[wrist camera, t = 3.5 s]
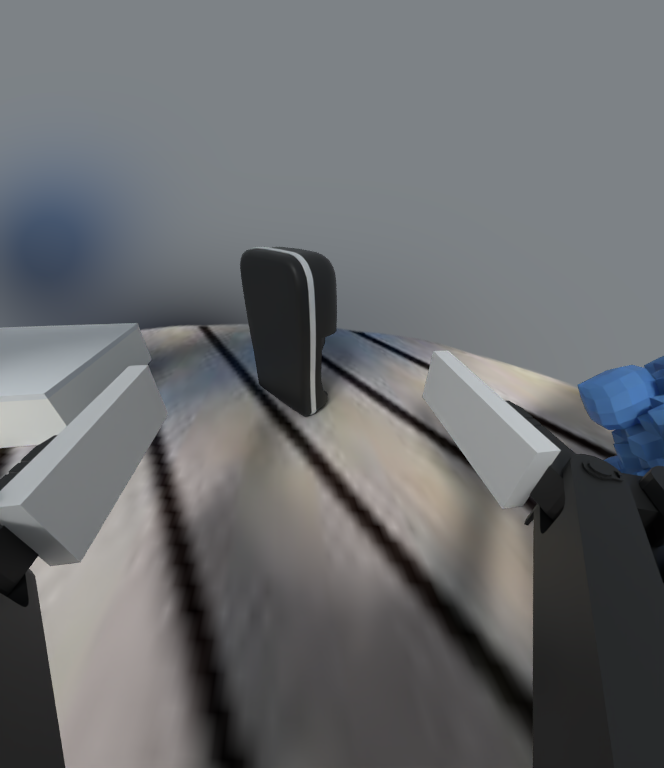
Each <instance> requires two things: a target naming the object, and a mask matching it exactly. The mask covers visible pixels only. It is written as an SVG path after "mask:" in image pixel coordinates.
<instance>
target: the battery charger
mask: <svg viewBox="0 0 664 768" xmlns="http://www.w3.org/2000/svg"><path fill="white" fill-rule="evenodd" d="M240 269H241V279H242V285H243V292H244V299H245V305H246V311H247V317H248V322H249V328H250V333H251V339H252V344H253V349H254V354H255V360H256V367H257V373H258V380H259V384H260V385H261V386H262V387H263V388H264V389H266V390H267V391H268V392H270V393H271V394H272V395H274V396H275V397H276V398H278V399H279V400H281V401H282V402H283V403H285V404H286V405H288V406H289V407H291V408H292V409H293V410H295V411H297V412H298V413H299V414H301V415H303V416H308V415H312V414H313V413H315V412H316V410H318V409H320V408H321V407H322V406H323V405H325V404H326V402H327V399H328V394H327V393H326V392H325V391H324V390H323V387H322V383H321V357H322V349H323V346H324V344H325V337H327V336H329V335H332V334H334V333H335V332H336V321H337V295H336V278H335V272H334V269H333V266H332V264H331V263H330V261H329V260H328V259H327V258H326V257H325V256H323V255H321V254H319V253H317V252H312V251H307V250H302V249H295V248H285V247H272V248H268V247H254V248H252V249H250V250H247V251H246V252H244V253H243V254H242V257H241V263H240Z"/></svg>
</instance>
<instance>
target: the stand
mask: <svg viewBox="0 0 664 768" xmlns="http://www.w3.org/2000/svg"><path fill="white" fill-rule="evenodd" d="M151 360H152V359H151V356H150V354H149V351H148V349H147V346H146V344H145V341H144V339H143V336H142V334H141V331H140V328H139V326H138V324H137V323H128V324H99V325H98V324H97V325H67V326H39V327H38V326H36V327H6V328H0V448H6V447H19V446H31V445H39V444H41V443H43V442H44V441H46V440H47V439H49V438H51V437H52V436H54V435H58V434H59V433H60V432H61V431H62V430H64V429H65V428H66V427H67V426H68V425H69V424H70V423H71V422H72V421H73V420H74V419H75V418H76V417H77V416H78V415H79V414H80V413H81V412H82V411H83V410H84V409H85V408H86V407H87V406H88V405H89V404H90V403H91V402H92V401H93V400H94V399H95V398H96V397H97V396H99V395H100V394H101V393H102V392H103V391H104V390H105V389H106V388H107V387H108V386H109V385H110V384H111V383H112V382H113V381H114V380H115V379H116V378H117V377H118V376H119V375H120V374H121V373H122V372H123V371H124V370H125V369H126V368H127V367H128V366H137V365H148V363H149V362H150V361H151Z"/></svg>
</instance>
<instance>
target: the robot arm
mask: <svg viewBox="0 0 664 768" xmlns="http://www.w3.org/2000/svg"><path fill="white" fill-rule="evenodd" d="M422 397H423V398H424V400H425V401H426V402H427V404H428V405H429V407H430V408H431V409H432V411H433V412H434V414H435V415H436V416H437V418H438V419H439V421H440V422H441V423H442V425H443V426H444V428H445V429H446V430H447V432H448V433H449V435H450V436H451V437H452V439H453V440H454V442H455V443H456V444H457V446H458V447H459V449H460V450H461V451H462V453H463V454H464V456H465V457H466V458H467V460H468V461H469V463H470V464H471V465H472V467H473V468H474V470H475V471H476V473H477V474H478V475H479V477H480V478H481V480H482V481H483V482H484V484H485V485H486V487H487V488H488V489H489V491H490V492H491V494H492V495H493V496H494V498H495V499H496V501H497V502H498V503H499V505H500V506H501V508H502V509H506V508H513V507H521V506H523V505H524V504H525V502H526V501H527V499H528V498H529V496H530V495H531V496H532V498H533V499H534V500H535V501H536V502H537V505H536V506H535V508H534V509H533V510H532V512H531V513H530V514H529V516H528V517H527V519H526V521H525V523H524V524H526V525H529V524H530V522H531V521H532V520H534V549H533V768H664V466H655V467H652V468H651V469H650V470H649V471H648V472H647V473H646V474H645V475H644V476H638V475H631V474H625V473H621V472H620V471H619V470H618V469H617V468H615V467H614V466H612V465H611V464H609V463H607V462H606V461H604V460H601V459H599V458H596V457H594V456H590V455H585V454H575V453H574V452H573V451H572V450H571V449H570V448H568V447H567V446H566V445H565V444H564V443H563V442H561V441H560V440H559V439H558V438H557V437H555V436H554V435H553V434H552V433H551V432H550V431H548V430H547V429H546V428H545V427H544V426H541V424H540V423H539V422H538V421H537V420H536V419H533V418H532V416H531V415H530V414H528V413H527V412H526V411H525V410H524V409H523V408H521V407H519V406H517V405H515V404H514V403H512V402H510V401H505V400H503V399H502V398H501V397H500V396H499V395H498V394H497V393H496V392H494V391H493V390H492V389H491V388H490V387H489V386H488V385H487V384H485V383H484V382H483V381H482V380H481V379H480V378H479V377H478V376H476V375H475V374H474V373H473V372H472V371H471V370H470V369H468V368H467V367H466V366H465V365H464V364H463V363H462V362H461V361H459V360H458V359H457V358H456V357H455V356H454V355H453V354H452V353H450V352H449V351H448V350H447V351H433V355H432V359H431V363H430V368H429V372H428V376H427V380H426V384H425V388H424V392H423V396H422ZM167 416H168V412H167V410H166V407H165V405H164V402H163V400H162V398H161V395H160V393H159V390H158V388H157V385H156V383H155V381H154V378H153V376H152V373H151V371H150V368H149V366H148V365H137V366H128V367H127V368H126V369H125V370H124V371H123V372H122V373H121V374H120V375H119V376H118V377H117V378H116V379H115V380H114V381H113V382H112V383H111V384H110V385H109V386H108V387H107V388H106V389H105V390H104V391H103V392H102V393H101V394H100V395H99V396H97V397H96V398H95V399H94V400H93V401H92V402H91V403H90V404H89V405H88V406H87V407H86V408H85V409H84V410H83V411H82V412H81V413H80V414H79V415H78V416H77V417H76V418H75V419H74V420H73V421H72V422H71V423H70V424H69V425H68V426H67V427H66V428H65V429H64V430H62V431H61V432H60V433H59V434H58V435H54V436H52V437H51V438H49V439H47V440H46V441H44V442H43V443H41V444H39V445H38V446H36V447H35V448H34V449H33V450H32V451H30V452H29V453H28V454H27V455H26V456H25V457H24V458H23V459H22V460H21V463H18V464H17V465H15V466H14V467H13V468H12V469H11V470H10V471H9V474H8V475H5V476H4V477H3V478H2V479H0V768H65V763H64V757H63V750H62V744H61V738H60V731H59V725H58V719H57V712H56V706H55V700H54V693H53V687H52V680H51V674H50V668H49V661H48V655H47V649H46V642H45V636H44V630H43V623H42V617H41V611H40V604H39V598H38V592H37V585H36V579H35V575H34V574H33V572H32V571H31V570H30V569H29V568H30V566H31V565H32V563H33V562H34V561H35V559H36V558H37V557H38V556H39V557H40V558H41V559H43V560H44V561H45V562H46V563H47V564H49V565H50V566H55V565H63V564H71V563H79V562H81V561H82V559H83V557H84V556H85V554H86V552H87V550H88V549H89V547H90V545H91V544H92V542H93V540H94V539H95V537H96V535H97V534H98V532H99V530H100V529H101V527H102V525H103V523H104V522H105V520H106V518H107V517H108V515H109V513H110V512H111V510H112V508H113V507H114V505H115V503H116V502H117V500H118V498H119V496H120V495H121V493H122V491H123V490H124V488H125V486H126V485H127V483H128V481H129V480H130V478H131V476H132V475H133V473H134V471H135V470H136V468H137V466H138V464H139V463H140V461H141V459H142V458H143V456H144V454H145V453H146V451H147V449H148V448H149V446H150V444H151V443H152V441H153V439H154V437H155V436H156V434H157V432H158V431H159V429H160V427H161V426H162V424H163V422H164V421H165V419H166V417H167Z"/></svg>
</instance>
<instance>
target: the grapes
mask: <svg viewBox="0 0 664 768" xmlns="http://www.w3.org/2000/svg"><path fill="white" fill-rule="evenodd" d="M644 367H645V368H642V367H639V366H635V365H629V366H624V367H620V368H615V369H611V370H607V371H604V372H602V373H600V374H598V375H596V376H594V377H592V378H590V379H588V380H586V381H584V382H582V383H581V384H579V385H578V389H579V392H580V396H581V399H582V402H583V404H584V407H585V409H586V411H587V413H588V414H589V416H590V418H591V420H593V421H594V422H596V423H597V424H599V425H601V426H602V427H604V428H606V429H608V430H614V431H612V435H613V438H614V442H615V444H613V445H614V447H615V450H616V453H617V455H616V456H613V457H609V458H607V459H605V460H604V461H606V462H607V463H609V464H611V465H612V466H614V467H615V468H617V469H618V470H619V471H620V472H621V473H625V474H631V475H638V476H644V475H645V474H646V473H647V472H648V471H649V470H650V469H651V468H652V467H655V466H664V356H662V357H660V358H658V359H656V360H654V361H652V362H650V363H648V364H646V365H644Z"/></svg>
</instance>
